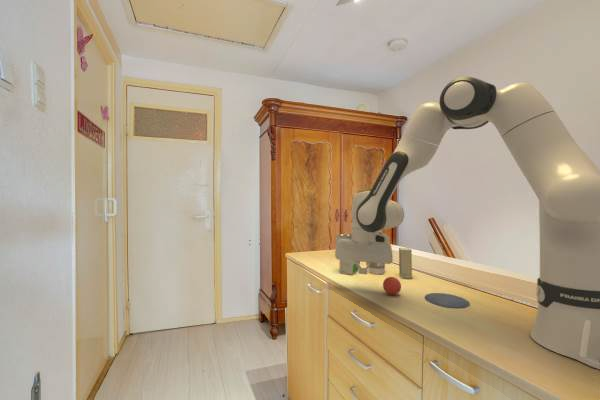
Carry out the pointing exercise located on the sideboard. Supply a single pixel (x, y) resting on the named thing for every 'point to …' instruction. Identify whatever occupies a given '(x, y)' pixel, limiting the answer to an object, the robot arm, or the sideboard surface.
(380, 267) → the bath foam
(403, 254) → the skincare box
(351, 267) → the skincare box
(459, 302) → the dark gray round plate
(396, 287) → the ball
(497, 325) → the sideboard surface
